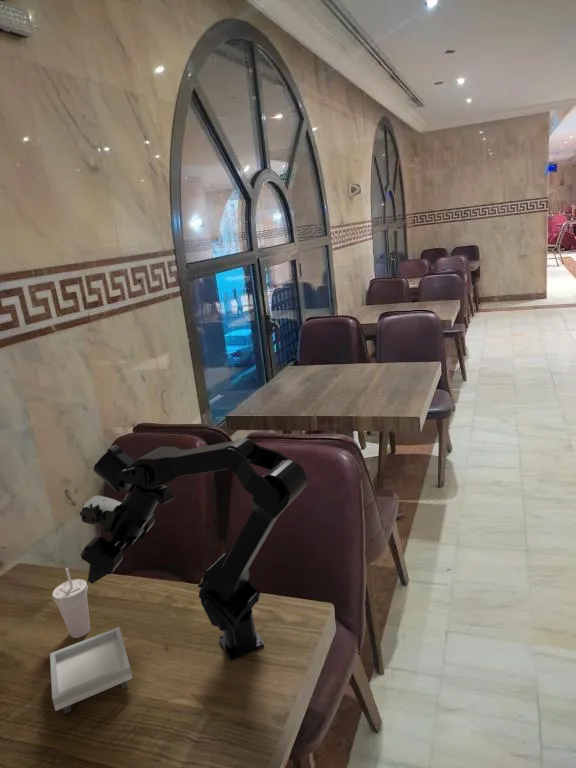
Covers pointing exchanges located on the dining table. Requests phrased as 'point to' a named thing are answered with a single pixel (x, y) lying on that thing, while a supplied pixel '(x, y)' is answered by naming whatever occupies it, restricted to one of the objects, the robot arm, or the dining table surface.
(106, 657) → the shallow square tray
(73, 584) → the smoothie
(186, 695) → the dining table surface
